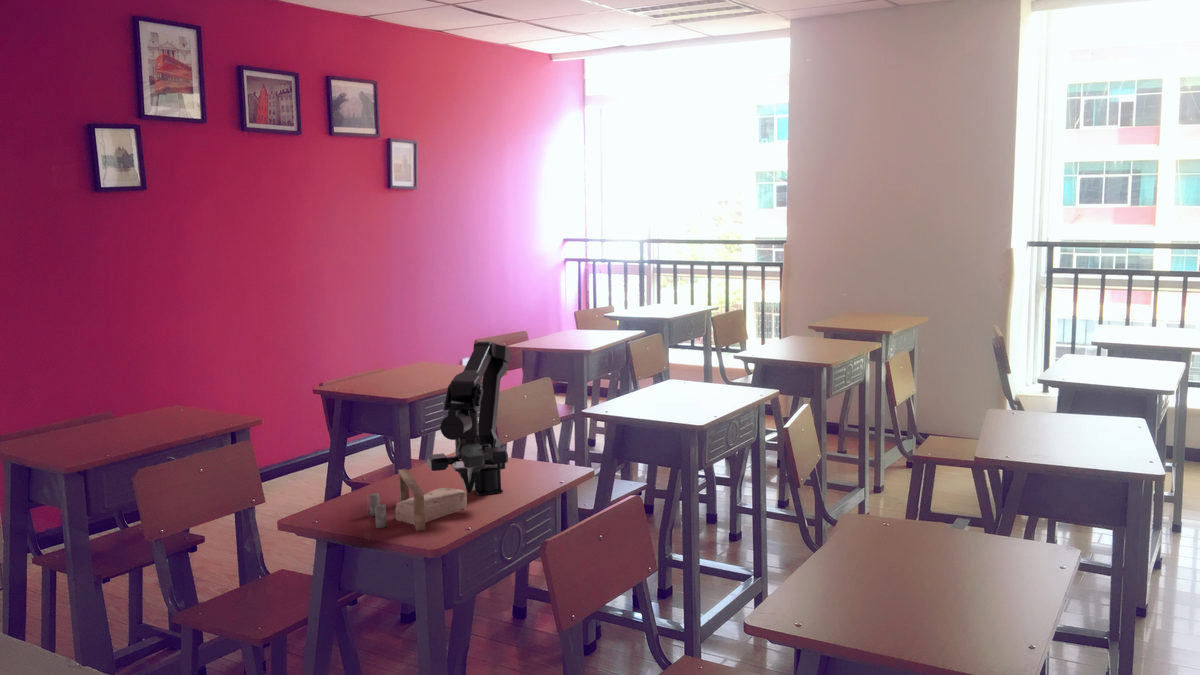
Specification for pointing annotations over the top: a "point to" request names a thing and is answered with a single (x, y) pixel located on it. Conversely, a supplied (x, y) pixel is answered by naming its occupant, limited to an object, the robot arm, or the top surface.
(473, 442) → the robot arm
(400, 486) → the shelf frame
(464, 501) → the brick
